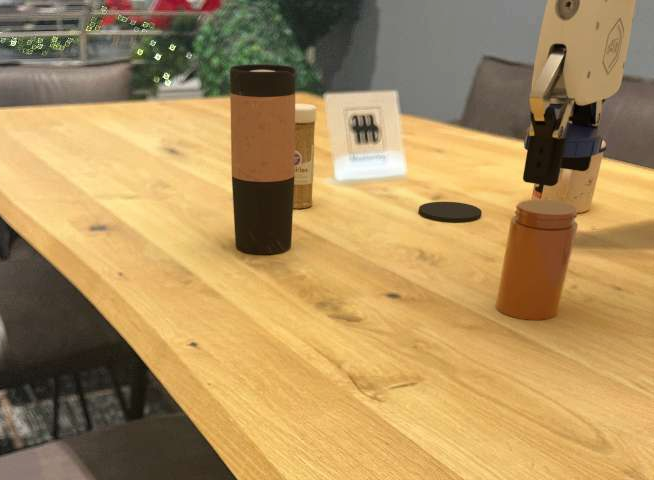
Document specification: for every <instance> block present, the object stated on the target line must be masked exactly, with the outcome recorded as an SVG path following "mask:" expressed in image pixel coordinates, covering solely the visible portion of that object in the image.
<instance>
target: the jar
mask: <svg viewBox="0 0 654 480" xmlns="http://www.w3.org/2000/svg"><path fill="white" fill-rule="evenodd" d="M515 208H516V210H515V211H514V214H515V215H514V216H511V219H510V224H509V229H508V234H507V239H506V245H505V251H504V256H503V261H502V267H501V272H500V277H499V278H500V279H499V284H498V289H497V296H496V300H495V308H496V310H498V312H500V313H502V314H503V315H505V316H508V317H512V318H515V319H520V320H526V321H527V320H528V321H541V320H549V319H551V318H554V317H556V316H557V315H558V312H559V308H560V304H561V299H562V295H563V291H564V287H565V282H566V278H567V275H568V269H569V265H570V260H571V256H572V253H573V252H572V250H573V247H574V243H575V239H576V234H577V231H578V226H579V225H578V223H577V221H575V220H576V218H577V216H578V213H577V209H576V208H575V207H574V206H572V205H569V204H566V203H562V202H557V201H550V200H531V199H530V200H524V201H521V202H519V203H518V204H517V205H516V207H515Z"/></svg>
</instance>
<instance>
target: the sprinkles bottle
mask: <svg viewBox="0 0 654 480" xmlns="http://www.w3.org/2000/svg"><path fill="white" fill-rule="evenodd" d="M316 121H317V106H316V105H314V104H310V103H295V175H294V198H293V209H307V208H310V207H311V206H312V205H313V203H314V202H313V201H314V200H313V183H314V166H315V164H314V163H315V131H316V130H315V127H316Z"/></svg>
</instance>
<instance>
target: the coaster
mask: <svg viewBox="0 0 654 480" xmlns="http://www.w3.org/2000/svg"><path fill="white" fill-rule="evenodd" d="M482 213H483V212H482V209H480V207H478V206H475V205H473V204H469V203H463V202H457V201H431V202H426V203H423V204H421V205H420V206H419V207H418V214H419V216H421V217H422V218H424V219H429V220H432V221H435V222H443V223H470V222H473V221H477V220H479V219H481V217H482Z"/></svg>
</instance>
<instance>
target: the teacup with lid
mask: <svg viewBox="0 0 654 480" xmlns="http://www.w3.org/2000/svg"><path fill="white" fill-rule="evenodd" d="M605 151H607V144H606V141H605V140H604V139H603V141H602V145H601V149H600V152H599V153H598V154H596V155H593V156H592V157H591V162H590V166H589V169H588V170H586V171H577V170H570V169H563V168H560V174H559V179H558V183H557V184H556V185H554V186H547V185H540V184H534V183H533V189H532V193H531V199H530V200H550V201H557V202H562V203H566V204H569V205H572V206H574V207H575V208H576V209H577V214H580V213H581V214H582V213H585V212H588V211H589V210H590V208H591V207H592V202H593V198H594V193H595V190H596V185H597V181H598V177H599V172H600V169H601V166H602V165H601V164H602V160H603V157H604V152H605Z"/></svg>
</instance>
